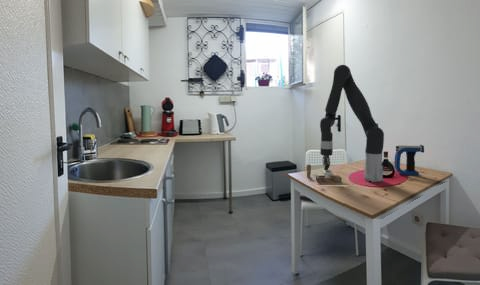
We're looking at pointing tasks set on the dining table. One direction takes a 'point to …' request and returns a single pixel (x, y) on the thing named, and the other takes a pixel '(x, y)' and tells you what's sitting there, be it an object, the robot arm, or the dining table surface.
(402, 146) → the handheld scanner
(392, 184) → the dining table surface
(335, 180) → the joist batten
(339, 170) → the dining table surface
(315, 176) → the subfloor panel
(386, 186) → the dining table surface
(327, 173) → the stud finder block
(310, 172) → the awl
